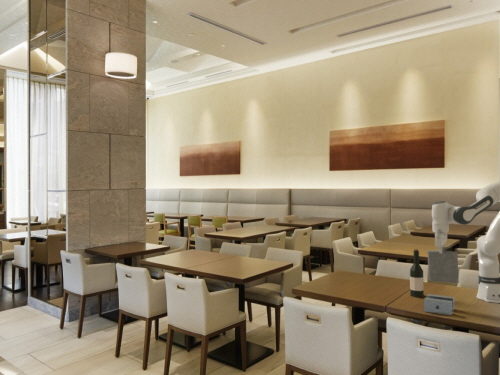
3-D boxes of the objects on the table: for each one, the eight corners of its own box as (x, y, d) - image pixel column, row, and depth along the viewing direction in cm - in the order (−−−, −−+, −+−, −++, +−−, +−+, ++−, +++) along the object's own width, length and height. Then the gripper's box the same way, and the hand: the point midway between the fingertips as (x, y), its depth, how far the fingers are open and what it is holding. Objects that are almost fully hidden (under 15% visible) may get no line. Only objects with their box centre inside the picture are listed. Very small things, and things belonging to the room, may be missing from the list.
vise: (454, 309, 232) (454, 297, 232) (451, 316, 220) (450, 303, 220) (428, 305, 239) (428, 293, 239) (423, 311, 227) (423, 299, 227)
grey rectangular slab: (428, 280, 238) (426, 247, 238) (429, 279, 241) (428, 245, 241) (458, 283, 229) (456, 248, 229) (459, 281, 233) (457, 247, 232)
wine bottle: (412, 293, 267) (411, 248, 267) (425, 295, 262) (424, 249, 262) (408, 296, 260) (407, 249, 260) (421, 298, 255) (420, 251, 255)
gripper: (443, 231, 225) (444, 255, 225) (448, 227, 242) (449, 250, 242) (431, 230, 228) (432, 255, 228) (437, 227, 245) (438, 249, 245)
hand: (441, 252), depth 235 cm, fingers closed on grey rectangular slab, 4 cm apart
